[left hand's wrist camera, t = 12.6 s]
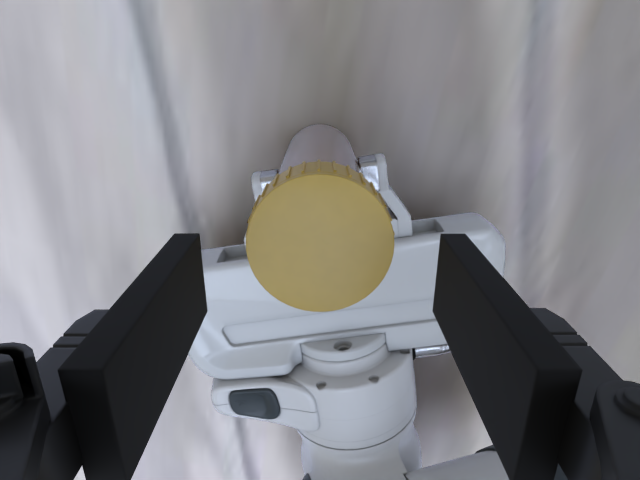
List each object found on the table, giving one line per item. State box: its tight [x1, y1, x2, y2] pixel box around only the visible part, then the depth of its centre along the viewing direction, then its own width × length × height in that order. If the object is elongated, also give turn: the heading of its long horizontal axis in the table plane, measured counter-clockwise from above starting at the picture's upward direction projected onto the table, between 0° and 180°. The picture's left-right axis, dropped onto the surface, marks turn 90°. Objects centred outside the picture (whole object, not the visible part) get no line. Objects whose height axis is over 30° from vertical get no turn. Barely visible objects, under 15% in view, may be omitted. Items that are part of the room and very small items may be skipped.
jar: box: [278, 124, 362, 175], centre depth 24 cm, size 5×5×16 cm
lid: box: [245, 160, 395, 312], centre depth 17 cm, size 6×6×2 cm
